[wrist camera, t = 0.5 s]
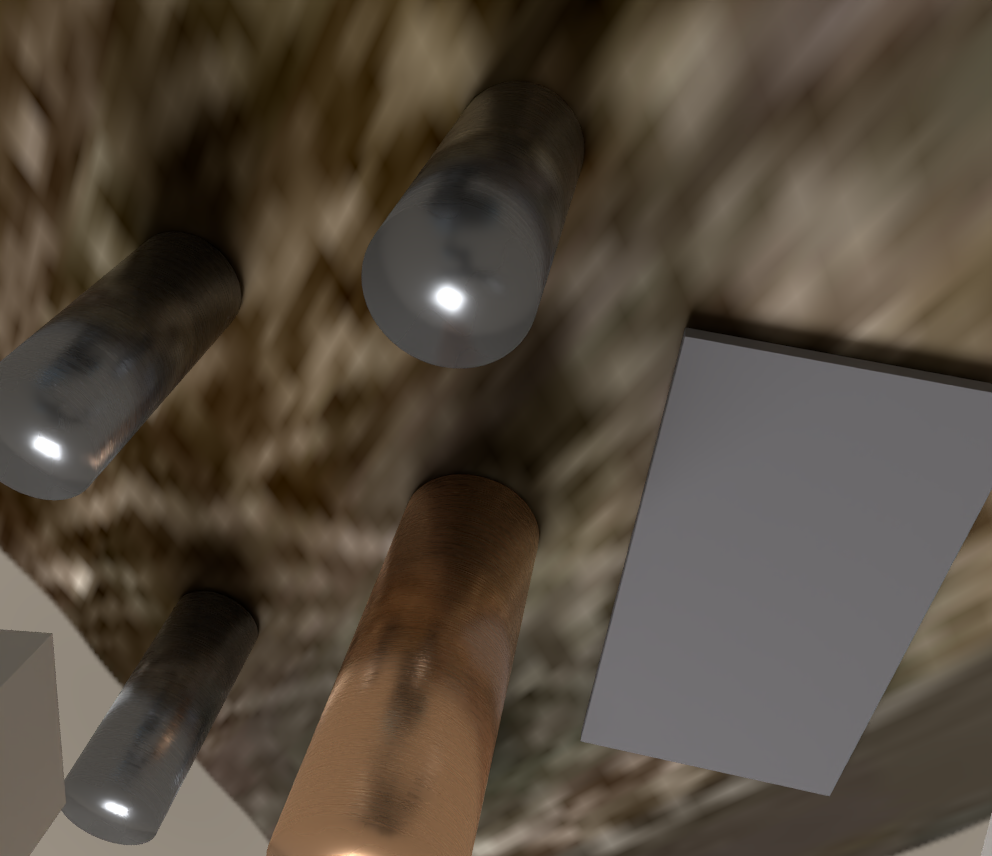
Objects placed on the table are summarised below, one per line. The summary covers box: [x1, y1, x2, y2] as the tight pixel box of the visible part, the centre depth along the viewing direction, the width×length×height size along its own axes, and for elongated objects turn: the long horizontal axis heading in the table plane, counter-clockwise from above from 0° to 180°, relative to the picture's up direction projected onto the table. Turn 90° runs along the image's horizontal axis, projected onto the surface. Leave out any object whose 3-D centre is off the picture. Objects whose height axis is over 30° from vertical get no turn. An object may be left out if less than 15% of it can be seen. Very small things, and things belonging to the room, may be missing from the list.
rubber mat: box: [581, 327, 992, 796], centre depth 30 cm, size 17×9×1 cm, turn 174°
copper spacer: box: [267, 474, 539, 856], centre depth 26 cm, size 4×4×12 cm
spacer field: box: [0, 81, 584, 845], centre depth 28 cm, size 28×12×8 cm, turn 174°
